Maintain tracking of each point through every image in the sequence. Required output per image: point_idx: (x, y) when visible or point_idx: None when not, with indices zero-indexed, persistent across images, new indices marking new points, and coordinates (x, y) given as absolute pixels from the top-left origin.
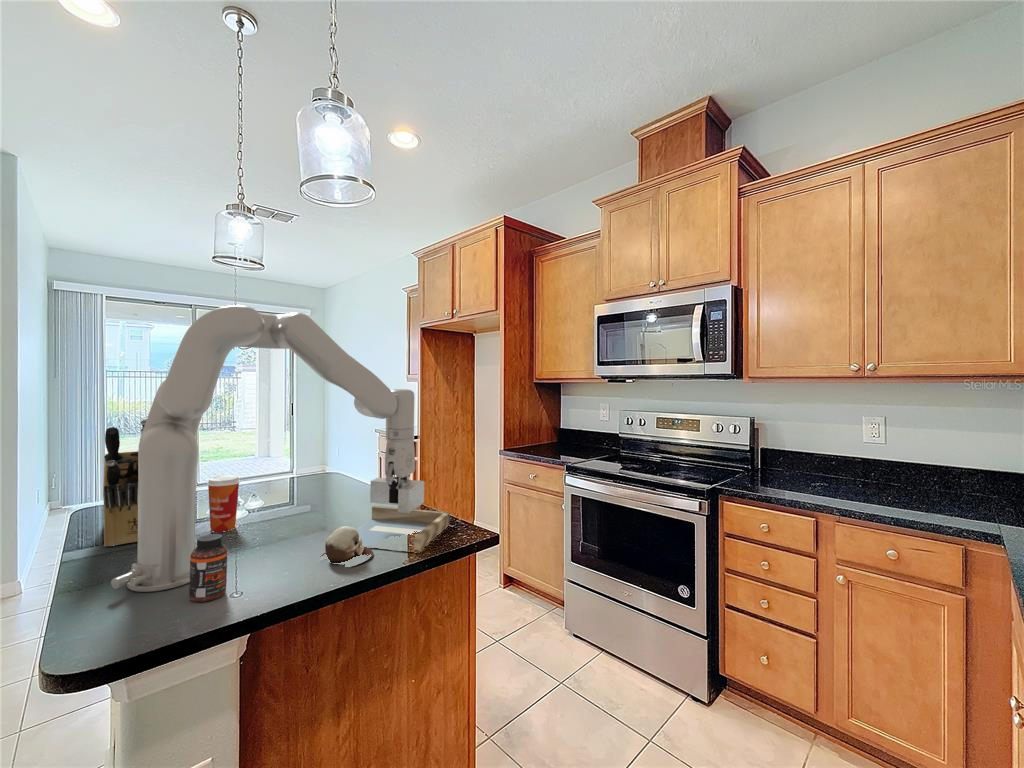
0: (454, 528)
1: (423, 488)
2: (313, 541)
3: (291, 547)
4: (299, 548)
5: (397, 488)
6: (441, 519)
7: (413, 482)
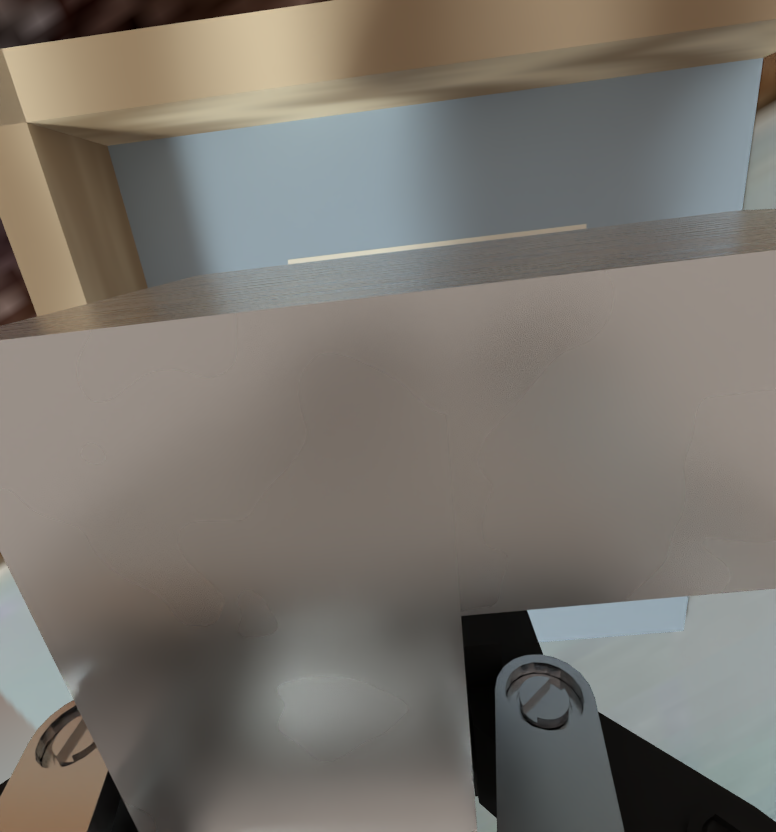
0: (73, 14)
1: (112, 304)
2: (654, 710)
3: (747, 738)
4: (755, 708)
5: (580, 679)
6: (224, 16)
7: (274, 559)
